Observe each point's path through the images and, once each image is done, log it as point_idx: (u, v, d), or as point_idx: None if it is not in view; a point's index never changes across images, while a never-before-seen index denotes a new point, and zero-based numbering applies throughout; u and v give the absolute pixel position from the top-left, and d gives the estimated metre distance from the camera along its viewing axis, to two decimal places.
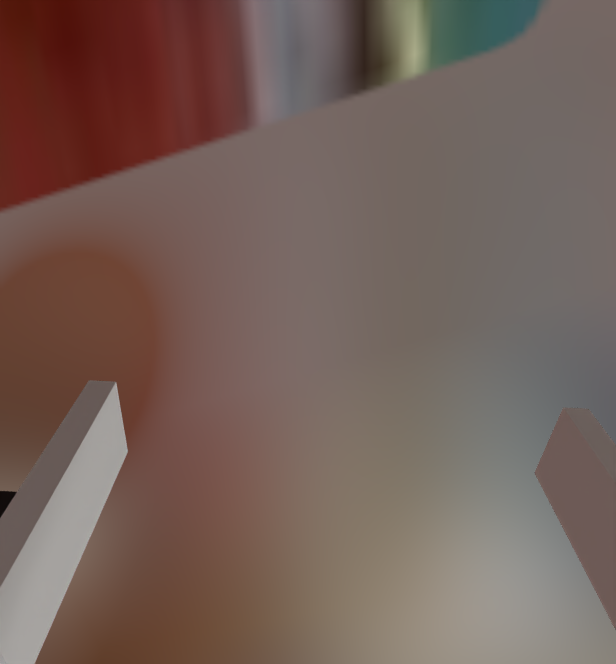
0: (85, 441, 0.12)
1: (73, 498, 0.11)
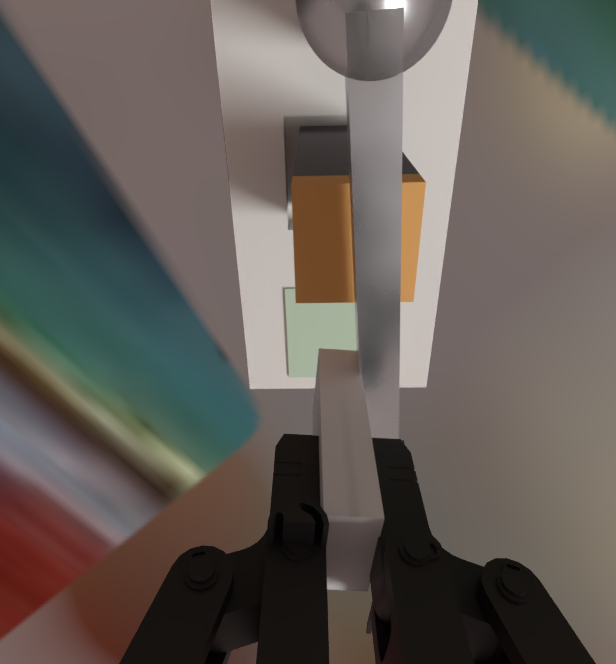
0: None
1: None
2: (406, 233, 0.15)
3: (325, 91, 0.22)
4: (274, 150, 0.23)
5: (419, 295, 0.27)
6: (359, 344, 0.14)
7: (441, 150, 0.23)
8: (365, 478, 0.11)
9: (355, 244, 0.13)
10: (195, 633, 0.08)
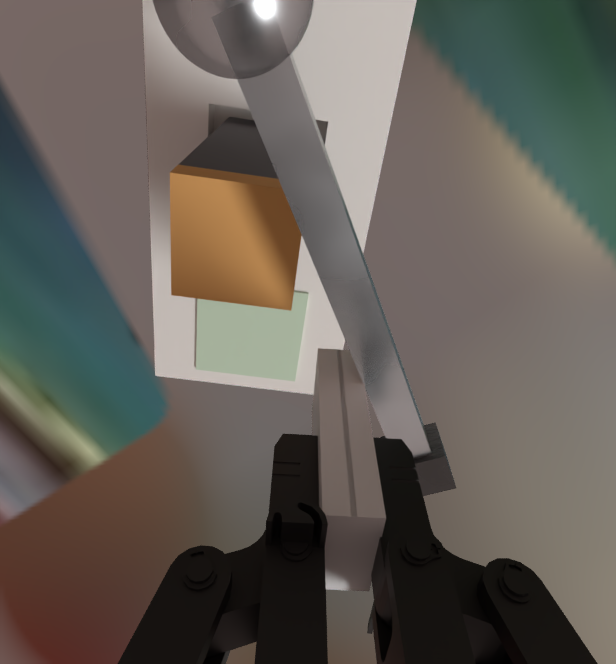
0: None
1: None
2: (286, 240, 0.15)
3: None
4: (197, 136, 0.22)
5: None
6: (345, 338, 0.14)
7: (364, 164, 0.23)
8: (366, 478, 0.11)
9: (305, 240, 0.12)
10: (194, 633, 0.08)
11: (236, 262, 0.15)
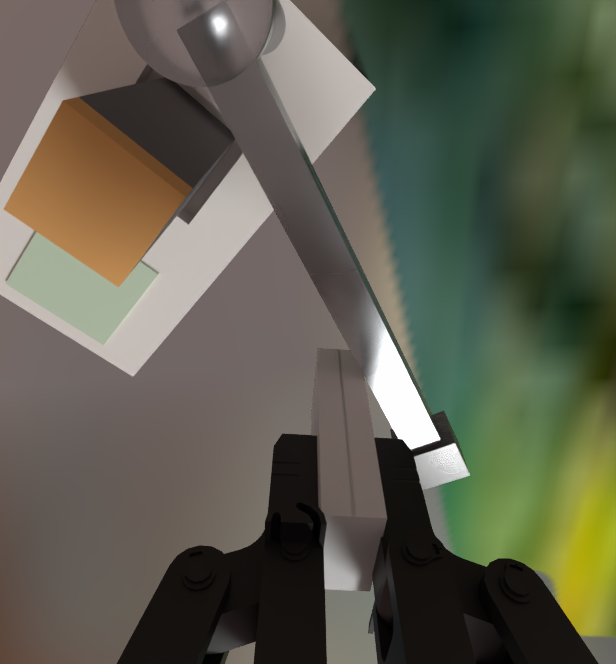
0: None
1: None
2: (144, 225, 0.15)
3: None
4: (126, 74, 0.21)
5: (176, 296, 0.27)
6: (341, 331, 0.14)
7: (264, 195, 0.24)
8: (368, 478, 0.11)
9: (290, 237, 0.12)
10: (192, 633, 0.08)
11: (87, 217, 0.15)
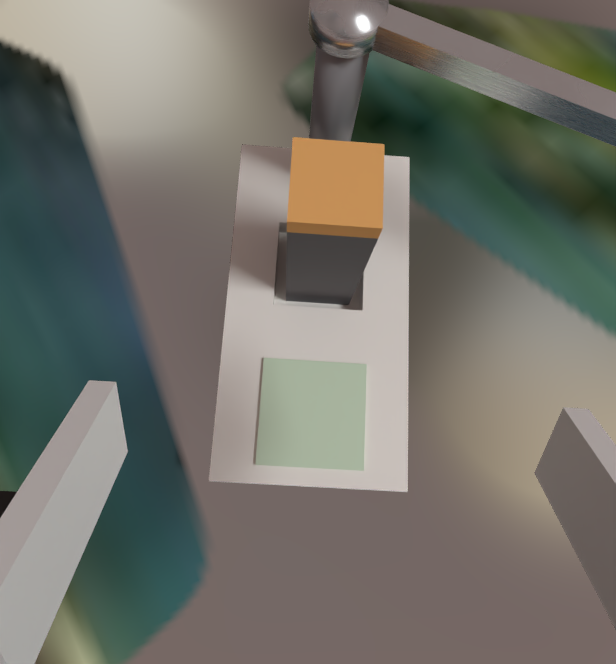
0: (85, 441, 0.12)
1: (73, 498, 0.11)
2: (373, 175, 0.21)
3: None
4: (270, 243, 0.30)
5: (390, 375, 0.28)
6: (542, 90, 0.19)
7: (396, 254, 0.30)
8: None
9: (468, 61, 0.19)
10: None
11: (338, 193, 0.21)
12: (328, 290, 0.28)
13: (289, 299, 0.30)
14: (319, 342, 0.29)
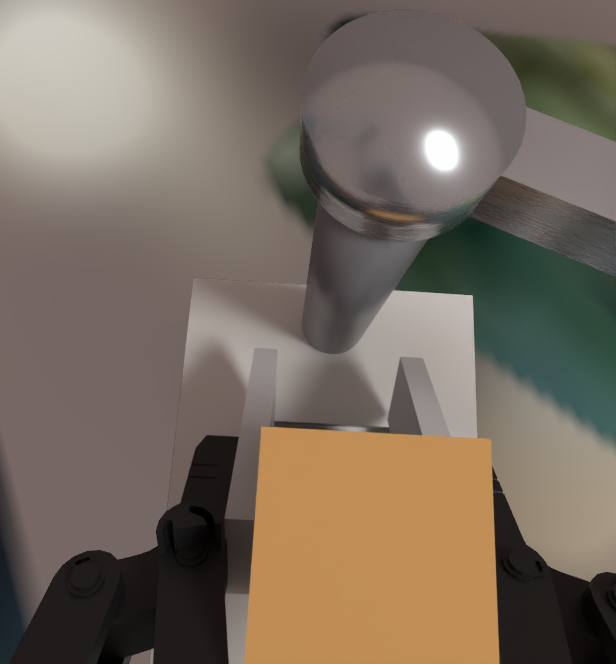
0: (273, 395, 0.14)
1: None
2: (468, 534, 0.08)
3: (309, 395, 0.18)
4: None
5: None
6: None
7: None
8: None
9: None
10: (81, 639, 0.08)
11: (378, 594, 0.08)
12: None
13: None
14: None
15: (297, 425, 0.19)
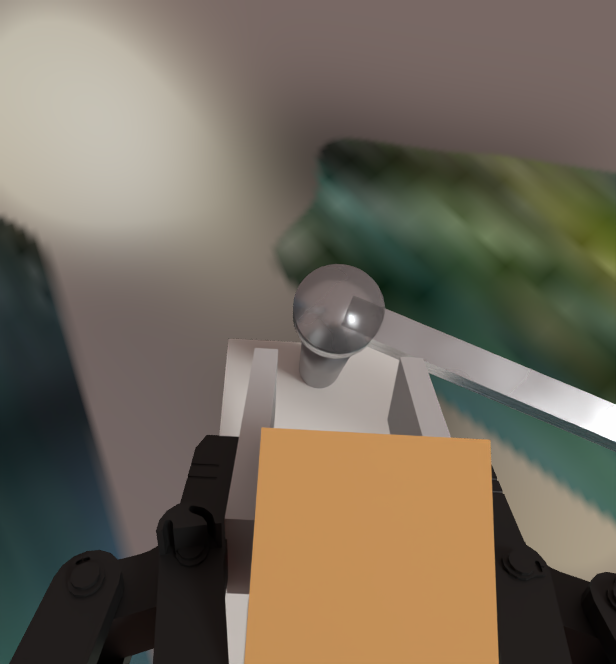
0: (273, 395, 0.14)
1: None
2: (467, 534, 0.08)
3: (304, 415, 0.28)
4: None
5: None
6: (564, 419, 0.16)
7: None
8: None
9: (477, 382, 0.17)
10: (81, 639, 0.08)
11: (378, 594, 0.08)
12: None
13: None
14: None
15: None
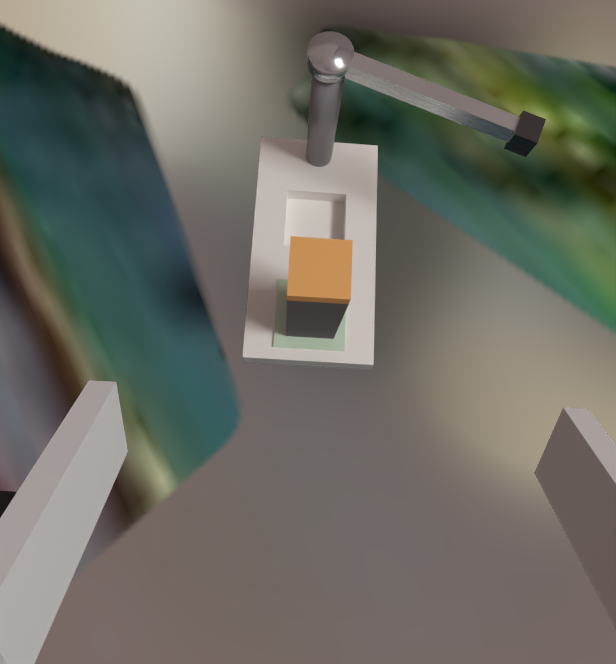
0: (85, 441, 0.12)
1: (73, 498, 0.11)
2: (344, 262, 0.31)
3: (309, 181, 0.45)
4: (281, 204, 0.44)
5: (363, 291, 0.42)
6: (442, 102, 0.33)
7: (367, 211, 0.44)
8: None
9: (399, 85, 0.33)
10: None
11: (321, 275, 0.31)
12: (317, 330, 0.38)
13: (288, 335, 0.41)
14: None
15: (304, 200, 0.46)
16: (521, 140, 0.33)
